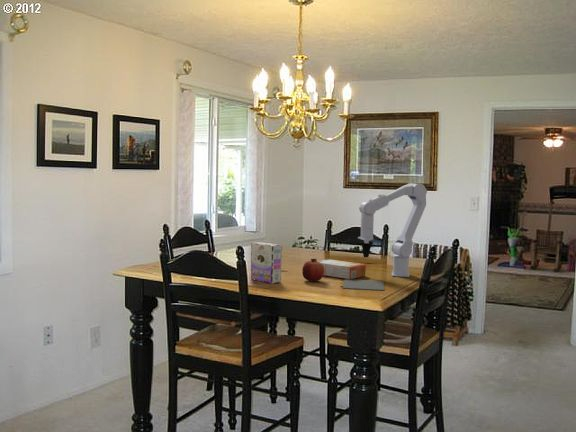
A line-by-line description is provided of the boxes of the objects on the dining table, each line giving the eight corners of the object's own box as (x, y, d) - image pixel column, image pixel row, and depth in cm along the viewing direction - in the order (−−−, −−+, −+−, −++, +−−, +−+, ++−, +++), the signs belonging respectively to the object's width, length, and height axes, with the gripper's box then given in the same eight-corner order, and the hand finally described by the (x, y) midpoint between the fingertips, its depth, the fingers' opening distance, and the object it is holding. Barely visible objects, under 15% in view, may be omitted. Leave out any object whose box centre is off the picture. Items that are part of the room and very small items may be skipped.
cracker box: (365, 277, 283) (328, 270, 296) (366, 264, 282) (329, 258, 295) (349, 280, 272) (311, 273, 285) (350, 267, 271) (312, 260, 284)
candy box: (281, 282, 261) (282, 244, 260) (271, 284, 257) (272, 245, 256) (260, 278, 271) (261, 241, 269) (250, 279, 267) (250, 242, 265)
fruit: (306, 278, 273) (306, 256, 272) (327, 280, 269) (328, 258, 268) (297, 282, 263) (298, 259, 262) (319, 284, 259) (320, 261, 259)
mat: (344, 280, 272) (344, 279, 272) (383, 282, 270) (383, 281, 270) (342, 288, 252) (342, 287, 252) (384, 290, 250) (384, 289, 250)
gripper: (358, 226, 289) (357, 254, 290) (358, 229, 275) (357, 258, 276) (373, 226, 288) (372, 255, 289) (373, 229, 274) (372, 259, 275)
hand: (366, 257), depth 282 cm, fingers closed
